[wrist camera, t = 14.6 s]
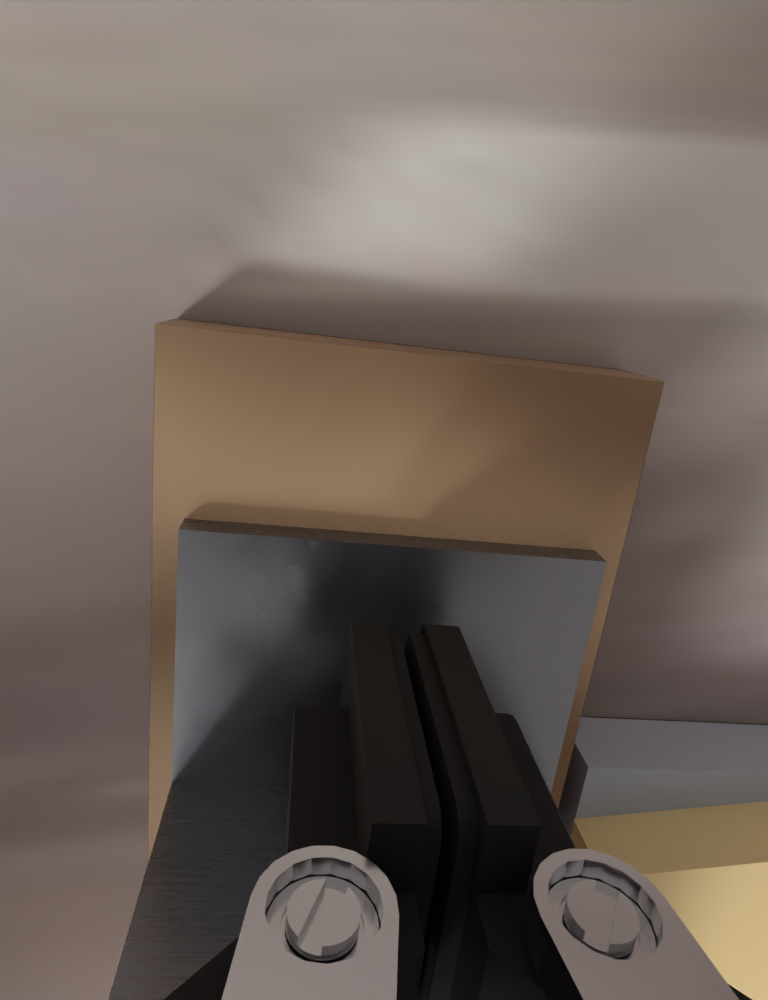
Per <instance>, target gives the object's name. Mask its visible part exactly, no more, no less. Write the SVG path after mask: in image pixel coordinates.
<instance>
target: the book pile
mask: <svg viewBox="0 0 768 1000" xmlns="http://www.w3.org/2000/svg"><path fill="white" fill-rule="evenodd" d="M558 810H559V812H560V815H561V817H562V819H563V821H564V823H565V826H566V828H567V830H568V832H569V834H570V836H571V839H572V841H573V843H574V845H575V847H576V849H590V850H594V851H597V852H601V853H605V854H609V855H611V856H613V857H615V858H617V859H619V860H621V861H623V862H625V863H627V864H629V865H631V866H632V867H633V868H635V869H636V870H637V871H639V872H640V873H641V874H642V875H644V876H645V877H646V878H648V879H649V880H650V881H651V882H652V883H653V885H654V886H655V887H656V888H657V889H658V890H659V891H660V892H661V893H662V895H663V896H664V897H665V898H666V900H667V901H668V902H669V904H670V905H671V906H672V908H673V909H674V911H675V912H676V913H677V915H678V916H679V917H680V919H681V920H682V922H683V923H684V924H685V926H686V927H687V928H688V930H689V931H690V933H691V934H692V935H693V937H694V938H695V940H696V941H697V942H698V944H699V945H700V946H701V948H702V949H703V951H704V952H705V953H706V955H707V956H708V957H709V959H710V960H711V962H712V963H713V964H714V966H715V967H716V969H717V970H718V971H719V973H720V974H721V975H722V977H723V978H724V980H725V981H726V982H727V983H728V984H729V985H731V986H732V987H734V988H735V989H737V990H738V991H740V992H741V993H743V994H744V995H746V996H747V997H749V998H750V999H752V1000H768V725H751V724H728V723H705V722H682V721H659V720H636V719H613V718H590V717H581V719H580V723H579V727H578V731H577V735H576V739H575V743H574V747H573V751H572V755H571V759H570V763H569V767H568V771H567V775H566V779H565V783H564V788H563V792H562V796H561V800H560V804H559V808H558Z"/></svg>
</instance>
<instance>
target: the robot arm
mask: <svg viewBox="0 0 768 1000" xmlns="http://www.w3.org/2000/svg"><path fill="white" fill-rule="evenodd" d="M164 1000H752V999H750V998H749V997H747V996H746V995H744V994H743V993H741V992H740V991H738V990H737V989H735V988H734V987H732V986H731V985H729V984H728V983H727V982H726V981H725V980H724V978H723V977H722V975H721V974H720V973H719V971H718V970H717V969H716V967H715V966H714V964H713V963H712V962H711V960H710V959H709V957H708V956H707V955H706V953H705V952H704V951H703V949H702V948H701V946H700V945H699V944H698V942H697V941H696V940H695V938H694V937H693V935H692V934H691V933H690V931H689V930H688V928H687V927H686V926H685V924H684V923H683V922H682V920H681V919H680V917H679V916H678V915H677V913H676V912H675V911H674V909H673V908H672V906H671V905H670V904H669V902H668V901H667V900H666V898H665V897H664V896H663V895H662V893H661V892H660V891H659V890H658V889H657V888H656V887H655V886H654V885H653V883H652V882H651V881H650V880H649V879H648V878H646V877H645V876H644V875H642V874H641V873H640V872H639V871H637V870H636V869H635V868H633V867H632V866H631V865H629V864H627V863H625V862H623V861H621V860H619V859H617V858H615V857H613V856H611V855H609V854H605V853H601V852H597V851H594V850H590V849H575V847H574V845H573V843H572V841H571V838H570V836H569V834H568V832H567V830H566V828H565V825H564V823H563V821H562V819H561V817H560V814H559V812H558V810H557V808H556V806H555V803H554V801H553V799H552V797H551V795H550V792H549V790H548V788H547V786H546V784H545V782H544V779H543V777H542V775H541V773H540V771H539V768H538V766H537V764H536V762H535V760H534V757H533V755H532V753H531V751H530V749H529V746H528V744H527V742H526V740H525V738H524V735H523V733H522V731H521V729H520V727H519V725H518V722H517V721H516V719H515V718H514V716H513V715H511V714H509V713H495V712H494V710H493V708H492V705H491V703H490V700H489V698H488V695H487V693H486V691H485V688H484V686H483V683H482V681H481V679H480V676H479V674H478V671H477V669H476V666H475V664H474V662H473V659H472V657H471V654H470V652H469V649H468V647H467V645H466V642H465V640H464V637H463V635H462V633H461V630H460V628H459V627H458V626H447V625H429V624H422V626H421V628H420V631H419V633H409V634H408V636H407V640H406V646H405V653H404V650H403V646H402V642H401V637H400V634H399V632H388V629H387V625H386V622H376V621H359V620H350V622H349V627H348V634H347V643H346V652H345V661H344V670H343V679H342V688H341V697H340V706H339V707H332V706H307V705H295V708H294V718H293V729H292V741H291V753H290V765H289V778H288V792H287V807H286V824H285V841H284V856H283V857H281V858H279V859H277V860H276V861H274V862H273V863H272V864H271V865H270V866H269V867H268V868H267V869H266V870H265V872H264V873H263V874H262V875H261V876H260V877H259V879H258V881H257V883H256V885H255V887H254V890H253V892H252V894H251V896H250V900H249V903H248V907H247V910H246V914H245V917H244V921H243V925H242V928H241V932H240V935H239V937H238V938H236V939H235V940H234V941H233V942H232V943H230V944H229V945H228V946H227V947H226V948H225V949H223V950H222V951H221V952H220V953H219V954H217V955H216V956H215V957H214V958H213V959H211V960H210V961H209V962H208V963H207V964H205V965H204V966H203V967H202V968H201V969H199V970H198V971H197V972H196V973H195V974H194V975H192V976H191V977H190V978H189V979H188V980H186V981H185V982H184V983H183V984H182V985H180V986H179V987H178V988H177V989H176V990H174V991H173V992H172V993H171V994H170V995H168V996H167V997H166V998H165V999H164Z"/></svg>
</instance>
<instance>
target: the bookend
mask: <svg viewBox="0 0 768 1000" xmlns="http://www.w3.org/2000/svg"><path fill="white" fill-rule="evenodd" d="M606 563H607V561H606V560H604V559H603V558H602V557H601V556H600V555H599V554H598V553H597V552H596V551H595V550H585V549H572V548H559V547H546V546H534V545H521V544H508V543H495V542H482V541H469V540H457V539H444V538H431V537H418V536H405V535H393V534H380V533H367V532H354V531H341V530H329V529H316V528H303V527H290V526H277V525H264V524H252V523H239V522H226V521H213V520H200V519H188V518H184V520H183V522H182V524H181V526H180V527H179V529H178V563H177V601H176V639H175V676H174V714H173V752H172V784H171V787H170V790H169V794H168V797H167V801H166V804H165V808H164V811H163V814H162V818H161V821H160V825H159V828H158V832H157V835H156V839H155V842H154V845H153V849H152V852H151V856H150V859H149V863H148V866H147V869H146V873H145V876H144V880H143V883H142V887H141V890H140V894H139V897H138V900H137V904H136V907H135V911H134V914H133V918H132V921H131V924H130V928H129V931H128V935H127V938H126V942H125V945H124V948H123V952H122V955H121V959H120V962H119V966H118V969H117V973H116V976H115V979H114V983H113V986H112V990H111V993H110V997H109V1000H164V999H165V998H166V997H167V996H168V995H170V994H171V993H172V992H173V991H174V990H176V989H177V988H178V987H179V986H180V985H182V984H183V983H184V982H185V981H186V980H188V979H189V978H190V977H191V976H192V975H194V974H195V973H196V972H197V971H198V970H199V969H201V968H202V967H203V966H204V965H205V964H207V963H208V962H209V961H210V960H211V959H213V958H214V957H215V956H216V955H217V954H219V953H220V952H221V951H222V950H223V949H225V948H226V947H227V946H228V945H229V944H230V943H232V942H233V941H234V940H235V939H236V938H238V937H239V935H240V932H241V928H242V925H243V921H244V917H245V914H246V910H247V907H248V903H249V900H250V896H251V894H252V892H253V890H254V887H255V885H256V883H257V881H258V879H259V877H260V876H261V875H262V874H263V873H264V872H265V870H266V869H267V868H268V867H269V866H270V865H271V864H272V863H273V862H274V861H276V860H277V859H279V858H281V857H283V856H284V841H285V824H286V807H287V792H288V778H289V765H290V753H291V741H292V729H293V718H294V708H295V705H307V706H332V707H339V706H340V697H341V688H342V679H343V670H344V661H345V652H346V643H347V634H348V627H349V622H350V620H359V621H376V622H386V625H387V629H388V632H399V634H400V637H401V642H402V646H403V650H404V653H405V646H406V640H407V636H408V634H409V633H419V631H420V628H421V626H422V624H429V625H447V626H458V627H459V628H460V630H461V633H462V635H463V637H464V640H465V642H466V645H467V647H468V649H469V652H470V654H471V657H472V659H473V662H474V664H475V666H476V669H477V671H478V674H479V676H480V679H481V681H482V683H483V686H484V688H485V691H486V693H487V695H488V698H489V700H490V703H491V705H492V708H493V710H494V712H495V713H509V714H511V715H513V716H514V718H515V719H516V721H517V722H518V725H519V727H520V729H521V731H522V733H523V735H524V738H525V740H526V742H527V744H528V746H529V749H530V751H531V753H532V755H533V757H534V760H535V762H536V764H537V766H538V768H539V771H540V773H541V775H542V777H543V779H544V782H545V784H546V786H547V788H548V790H549V792H550V795H551V791H552V787H553V782H554V778H555V774H556V770H557V766H558V762H559V758H560V754H561V749H562V745H563V741H564V737H565V733H566V729H567V725H568V720H569V716H570V712H571V708H572V704H573V700H574V696H575V691H576V687H577V683H578V679H579V675H580V671H581V667H582V662H583V658H584V654H585V650H586V646H587V642H588V638H589V634H590V629H591V625H592V621H593V617H594V613H595V609H596V605H597V600H598V596H599V592H600V588H601V584H602V580H603V576H604V571H605V567H606ZM551 797H552V795H551ZM552 799H553V797H552ZM553 801H554V799H553ZM554 803H555V801H554ZM555 806H556V804H555ZM556 808H557V806H556ZM557 810H558V808H557ZM558 812H559V810H558ZM559 814H560V812H559ZM560 817H561V815H560ZM561 819H562V817H561ZM562 821H563V819H562ZM563 823H564V821H563ZM564 825H565V823H564ZM565 828H566V826H565ZM566 830H567V828H566ZM567 832H568V830H567ZM568 834H569V832H568ZM569 836H570V834H569ZM570 838H571V836H570ZM571 841H572V839H571ZM572 843H573V841H572ZM573 845H574V843H573ZM574 847H575V845H574ZM575 849H576V847H575Z"/></svg>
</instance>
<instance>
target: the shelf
mask: <svg viewBox="0 0 768 1000" xmlns="http://www.w3.org/2000/svg"><path fill="white" fill-rule="evenodd" d="M663 384H664V382H662V381H658V380H655V379H652V378H648V377H645V376H641V375H638V374H634V373H631V372H627V371H624V370H616V369H607V368H598V367H590V366H581V365H572V364H564V363H555V362H547V361H538V360H529V359H521V358H512V357H503V356H495V355H486V354H477V353H469V352H460V351H452V350H443V349H434V348H426V347H417V346H408V345H400V344H391V343H383V342H374V341H365V340H357V339H348V338H339V337H331V336H322V335H313V334H305V333H296V332H288V331H279V330H270V329H262V328H253V327H244V326H236V325H227V324H218V323H210V322H201V321H193V320H184V319H172V320H169V321H165V322H161V323H157V324H155V378H154V451H153V524H152V597H151V670H150V743H149V816H148V863H149V859H150V856H151V852H152V849H153V845H154V842H155V839H156V835H157V832H158V828H159V825H160V821H161V818H162V814H163V811H164V808H165V804H166V801H167V797H168V794H169V790H170V787H171V784H172V752H173V714H174V676H175V639H176V601H177V563H178V529H179V527H180V526H181V524H182V522H183V520H184V518H188V519H200V520H213V521H226V522H239V523H252V524H264V525H277V526H290V527H303V528H316V529H329V530H341V531H354V532H367V533H380V534H393V535H405V536H418V537H431V538H444V539H457V540H469V541H482V542H495V543H508V544H521V545H534V546H546V547H559V548H572V549H585V550H595V551H596V552H597V553H598V554H599V555H600V556H601V557H602V558H603V559H604V560H606V561H607V563H606V567H605V571H604V576H603V580H602V584H601V588H600V592H599V596H598V600H597V605H596V609H595V613H594V617H593V621H592V625H591V629H590V634H589V638H588V642H587V646H586V650H585V654H584V658H583V662H582V667H581V671H580V675H579V679H578V683H577V687H576V691H575V696H574V700H573V704H572V708H571V712H570V716H569V720H568V725H567V729H566V733H565V737H564V741H563V745H562V749H561V754H560V758H559V762H558V766H557V770H556V774H555V778H554V782H553V787H552V791H551V795H552V797H553V799H554V801H555V804H556V806H557V808H559V804H560V800H561V796H562V792H563V788H564V783H565V779H566V775H567V771H568V767H569V763H570V759H571V755H572V751H573V747H574V743H575V739H576V735H577V731H578V727H579V723H580V719H581V715H582V711H583V707H584V703H585V699H586V695H587V691H588V687H589V683H590V679H591V675H592V671H593V667H594V663H595V658H596V654H597V650H598V646H599V642H600V638H601V634H602V630H603V626H604V622H605V618H606V614H607V610H608V606H609V602H610V598H611V594H612V590H613V586H614V582H615V578H616V574H617V570H618V566H619V562H620V558H621V554H622V550H623V546H624V542H625V538H626V534H627V529H628V525H629V521H630V517H631V513H632V509H633V505H634V501H635V497H636V493H637V489H638V485H639V481H640V477H641V473H642V469H643V465H644V461H645V457H646V453H647V449H648V445H649V441H650V437H651V433H652V429H653V425H654V421H655V417H656V413H657V409H658V404H659V400H660V396H661V392H662V388H663Z"/></svg>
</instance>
